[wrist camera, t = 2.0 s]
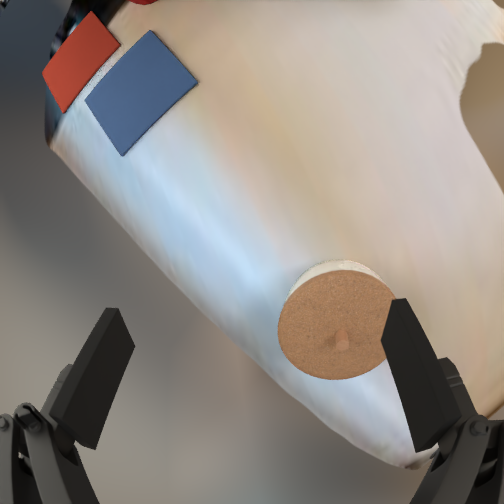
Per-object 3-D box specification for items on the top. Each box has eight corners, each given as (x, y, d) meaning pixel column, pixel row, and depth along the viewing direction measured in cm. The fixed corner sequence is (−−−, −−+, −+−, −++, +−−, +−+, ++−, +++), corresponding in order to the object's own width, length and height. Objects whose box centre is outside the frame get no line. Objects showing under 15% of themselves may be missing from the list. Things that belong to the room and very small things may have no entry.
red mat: (43, 73, 33) (41, 73, 32) (92, 11, 28) (91, 10, 28) (64, 113, 35) (62, 113, 34) (120, 45, 30) (119, 44, 29)
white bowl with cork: (290, 239, 34) (281, 275, 24) (393, 251, 32) (423, 289, 22) (280, 330, 38) (269, 386, 28) (371, 338, 36) (385, 394, 26)
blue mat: (86, 100, 33) (84, 100, 33) (151, 30, 29) (149, 29, 28) (122, 156, 35) (121, 156, 35) (198, 82, 30) (197, 82, 30)
